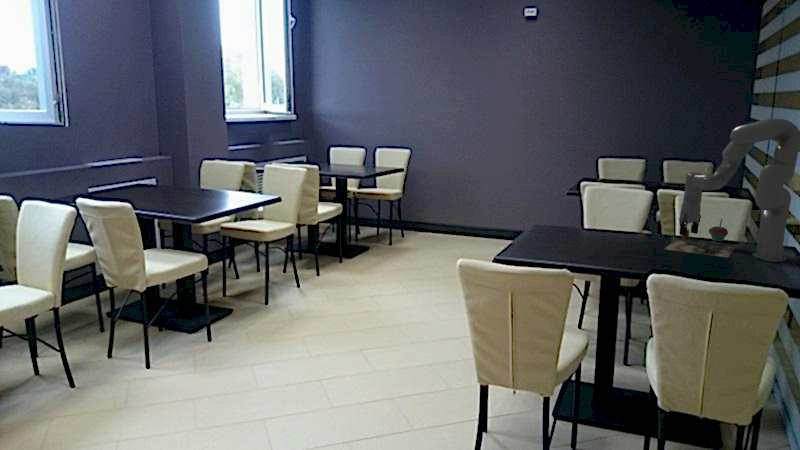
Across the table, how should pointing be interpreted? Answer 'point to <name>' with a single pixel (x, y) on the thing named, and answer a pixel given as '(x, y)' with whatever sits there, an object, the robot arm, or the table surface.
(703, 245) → the walnut
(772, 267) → the table surface
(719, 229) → the cupcake
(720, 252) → the cracker base
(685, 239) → the lever
